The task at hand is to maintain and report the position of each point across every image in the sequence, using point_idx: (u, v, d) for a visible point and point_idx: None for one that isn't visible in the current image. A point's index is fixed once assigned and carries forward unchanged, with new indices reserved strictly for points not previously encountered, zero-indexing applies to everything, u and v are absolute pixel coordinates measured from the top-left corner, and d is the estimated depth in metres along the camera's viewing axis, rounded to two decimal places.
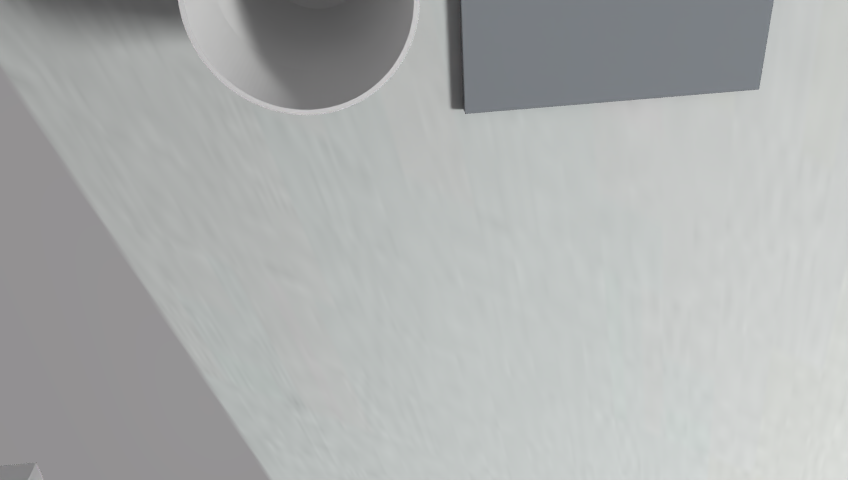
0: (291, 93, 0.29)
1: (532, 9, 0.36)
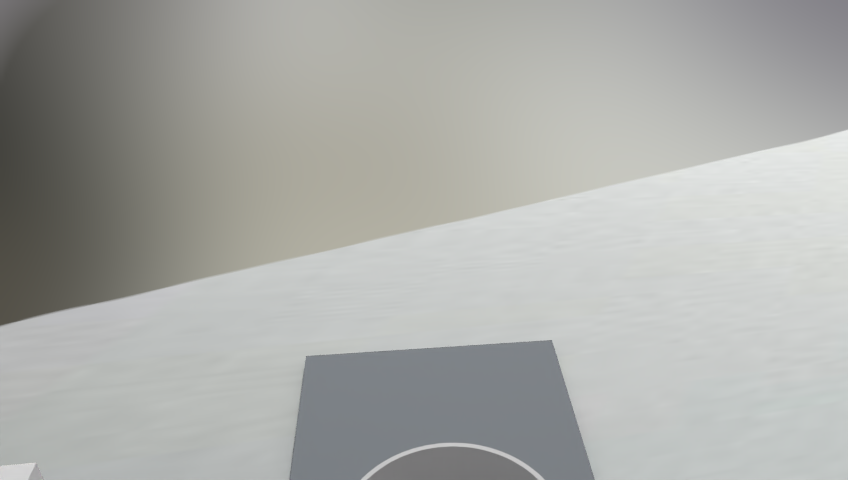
0: None
1: None
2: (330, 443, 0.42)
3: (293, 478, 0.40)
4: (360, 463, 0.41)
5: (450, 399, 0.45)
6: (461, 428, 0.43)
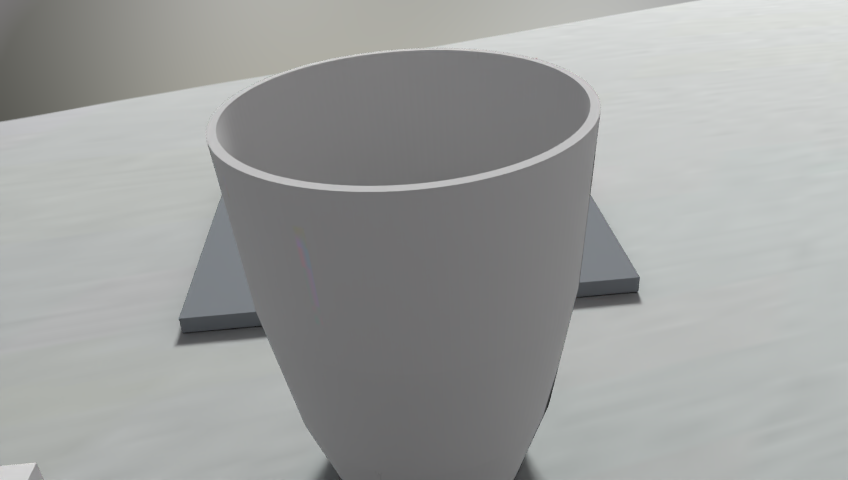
0: None
1: None
2: None
3: (208, 246, 0.30)
4: None
5: None
6: None
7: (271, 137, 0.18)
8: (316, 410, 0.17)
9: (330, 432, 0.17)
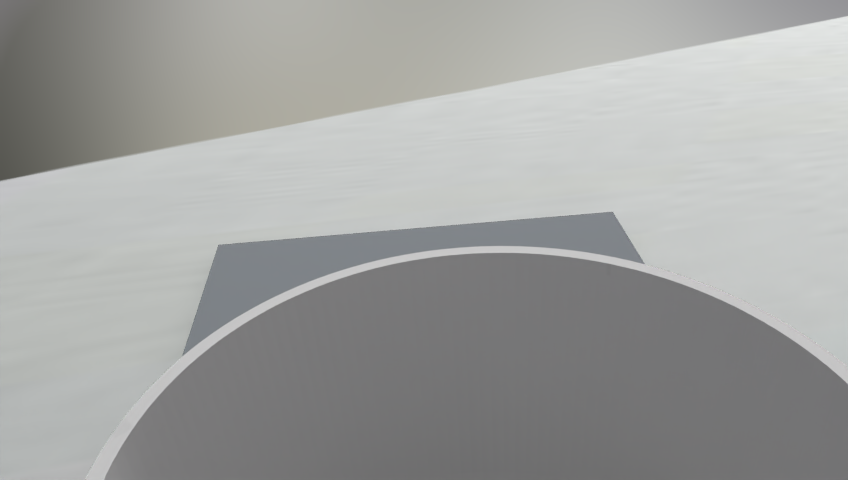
0: None
1: None
2: None
3: None
4: None
5: None
6: None
7: (228, 435, 0.10)
8: None
9: None
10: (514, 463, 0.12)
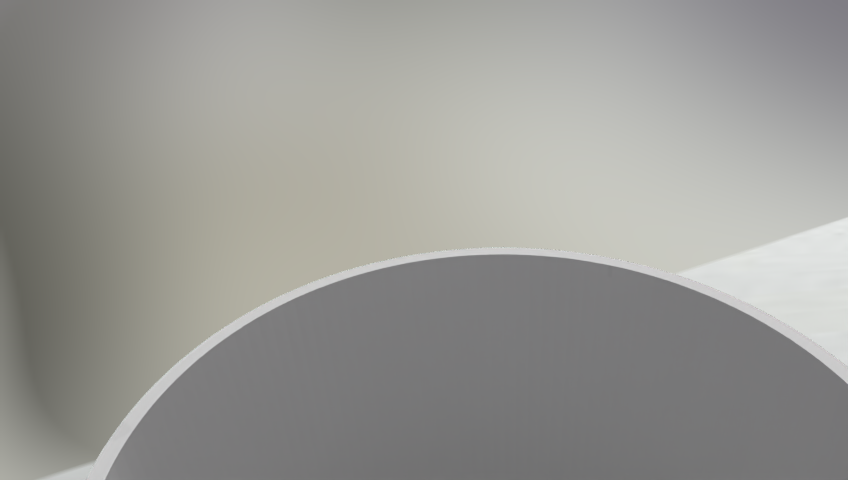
0: None
1: None
2: None
3: None
4: None
5: None
6: None
7: (228, 437, 0.10)
8: None
9: None
10: (515, 465, 0.12)
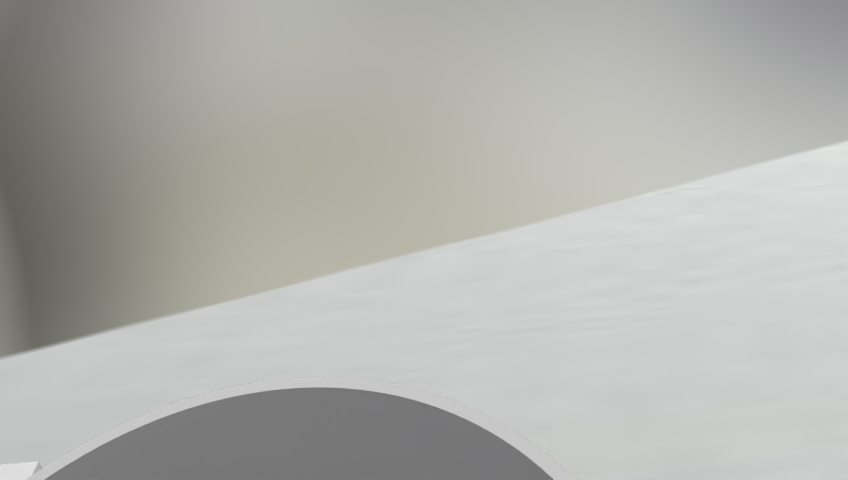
0: None
1: None
2: None
3: None
4: None
5: None
6: None
7: None
8: None
9: None
10: None
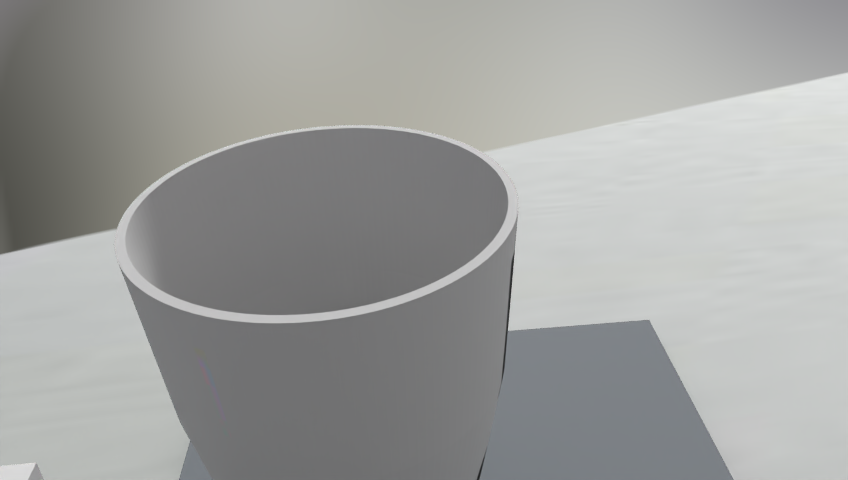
0: None
1: None
2: None
3: None
4: None
5: None
6: None
7: (196, 220, 0.18)
8: None
9: None
10: (370, 263, 0.21)
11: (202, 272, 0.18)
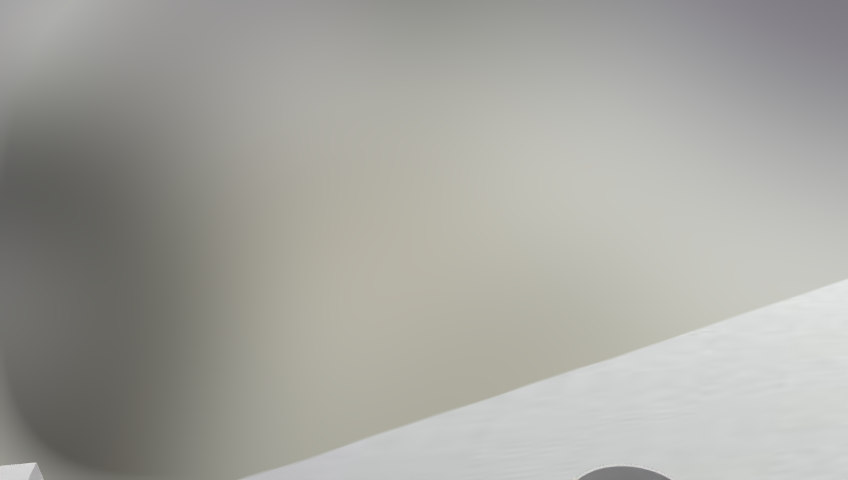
0: None
1: None
2: None
3: None
4: None
5: None
6: None
7: None
8: None
9: None
10: None
11: None
